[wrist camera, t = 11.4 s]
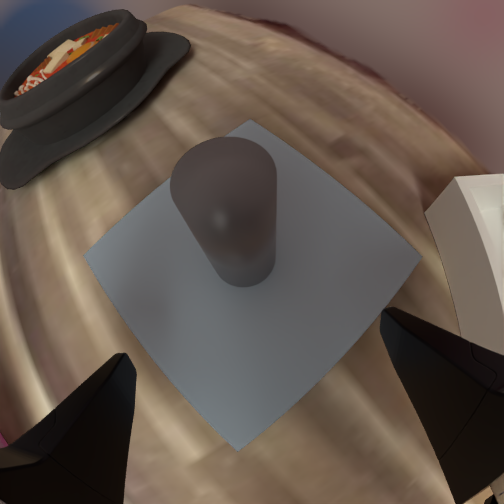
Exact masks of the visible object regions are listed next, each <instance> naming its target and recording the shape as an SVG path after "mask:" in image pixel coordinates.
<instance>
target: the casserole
mask: <svg viewBox="0 0 504 504" xmlns="http://www.w3.org/2000/svg"><path fill="white" fill-rule="evenodd" d="M146 31H147V24H146V23H145V22H143V21H141V20H138V19H136V18H135V17H134V16H133V15H132V14H131V13H130V12H129V11H128V10H124V9H121V10H112V11H108V12H104V13H101V14H98V15H95V16H92V17H90V18H87V19H85V20H83V21H80V22H78V23H76V24H74V25H73V26H70V27H69V28H67V29H65V30H63V31H62V32H60V33H59V34H57V35H55V36H54V37H53V38H51V39H50V40H48V41H47V42H46V43H44V44H43V45H42V46H40V47H39V48H38V49H37V50H35V51H34V52H33V53H32V54H31V55H30V56H29V57H28V58H27V59H25V61H24V62H23V63H22V64H21V65H20V66H19V67H18V68H17V69H16V70H15V71H14V73H13V74H12V75H11V76H10V77H9V79H8V80H7V82H6V83H5V84H4V86H3V88H2V90H1V91H0V113H1V115H0V124H1V126H2V127H3V128H5V129H8V130H11V129H14V130H13V131H12V132H11V134H10V135H9V136H8V138H7V139H6V141H5V142H4V144H3V146H2V149H1V152H0V182H1V184H2V185H3V186H4V187H5V188H7V189H12V190H14V189H17V188H20V187H22V186H24V185H25V184H26V183H28V182H29V181H30V180H31V179H32V178H34V177H35V176H36V175H37V174H39V173H40V172H41V171H43V170H44V169H45V168H47V167H48V166H49V165H51V164H52V163H54V162H56V161H58V160H59V159H61V158H63V157H65V156H67V155H69V154H70V153H72V152H74V151H76V150H78V149H80V148H82V147H84V146H85V145H87V144H88V143H90V142H91V141H93V140H95V139H96V138H98V137H99V136H101V135H102V134H104V133H105V132H106V131H108V130H109V129H110V128H112V127H113V126H114V125H116V124H117V123H119V122H120V121H121V120H122V119H123V118H125V117H126V116H127V115H128V114H129V113H130V112H131V111H133V110H134V109H135V108H136V107H137V106H138V105H139V104H140V103H141V102H142V101H143V100H144V99H145V98H146V97H147V96H148V95H149V94H150V93H151V92H152V90H153V89H154V88H155V86H156V85H157V84H158V82H159V81H160V80H161V78H162V77H163V76H164V74H165V73H166V72H167V71H168V70H169V69H170V68H171V67H172V66H173V65H174V64H175V63H177V62H178V61H179V60H180V59H181V58H182V57H183V56H184V55H185V54H187V53H188V52H189V49H190V47H191V45H190V42H189V40H187V39H186V38H185V37H183V36H181V35H178V34H175V33H169V32H149V33H146Z"/></svg>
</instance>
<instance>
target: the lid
mask: <svg viewBox="0 0 504 504" xmlns="http://www.w3.org/2000/svg"><path fill="white" fill-rule="evenodd" d="M83 256H84V258H85V259H86V261H87V263H88V265H89V266H90V268H91V270H92V271H93V273H94V275H95V276H96V278H97V280H98V281H99V283H100V285H101V286H102V288H103V289H104V291H105V293H106V294H107V296H108V297H109V299H110V300H111V302H112V303H113V305H114V306H115V308H116V309H117V311H118V312H119V314H120V315H121V317H122V318H123V320H124V321H125V323H126V324H127V325H128V327H129V328H130V330H131V331H132V332H133V334H134V335H135V337H136V338H137V339H138V341H139V342H140V343H141V345H142V346H143V347H144V349H145V350H146V351H147V353H148V354H149V355H150V356H151V358H152V359H153V360H154V362H155V363H156V364H157V365H158V367H159V368H160V369H161V370H162V372H163V373H164V374H165V375H166V376H167V378H168V379H169V380H170V381H171V382H172V384H173V385H174V386H175V387H176V388H177V389H178V391H179V392H180V393H181V394H182V395H183V396H184V397H185V399H186V400H187V401H188V402H189V403H190V404H191V405H192V406H193V407H194V408H195V410H196V411H197V412H198V413H199V414H200V415H201V416H202V417H203V418H204V419H205V420H206V421H207V422H208V423H209V424H210V425H211V426H212V427H213V428H214V429H215V430H216V431H217V432H218V433H219V434H220V435H221V436H222V437H223V438H224V439H225V440H226V441H227V442H228V443H229V444H230V445H231V446H232V447H233V448H234V449H235V450H236V451H237V452H238V451H239V450H241V449H242V448H243V447H245V446H246V445H247V444H248V443H250V442H251V441H252V440H254V439H255V438H256V437H257V436H258V435H260V434H261V433H262V432H263V431H265V430H266V429H267V428H268V427H269V426H271V425H272V424H273V423H274V422H275V421H276V420H278V419H279V418H280V417H281V416H282V415H283V414H284V413H286V412H287V411H288V410H289V409H290V408H291V407H292V406H293V405H294V404H295V403H297V402H298V401H299V400H300V399H301V398H302V397H303V396H304V395H305V394H306V393H307V392H308V391H309V390H310V389H311V388H312V387H313V386H314V385H315V384H316V383H317V382H319V381H320V380H321V379H322V378H323V377H324V375H325V374H326V373H327V372H328V371H329V370H330V369H331V368H332V367H333V366H334V365H335V364H336V363H337V362H338V361H339V360H340V359H341V358H342V357H343V356H344V355H345V353H346V352H347V351H348V350H349V349H350V348H351V347H352V346H353V345H354V344H355V342H356V341H357V340H358V339H359V338H360V337H361V336H362V334H363V333H364V332H365V331H366V330H367V329H368V327H369V326H370V325H371V324H372V323H373V322H374V320H375V319H376V318H377V317H378V315H379V314H380V313H381V312H382V310H383V309H384V308H385V307H386V306H387V304H388V303H389V302H390V300H391V299H392V298H393V297H394V295H395V294H396V293H397V291H398V290H399V289H400V287H401V286H402V285H403V283H404V282H405V281H406V279H407V278H408V277H409V275H410V274H411V272H412V271H413V270H414V268H415V267H416V265H417V264H418V263H419V261H420V260H421V258H422V256H421V255H420V254H419V253H418V252H417V251H416V250H415V249H414V248H413V247H412V246H411V245H410V244H409V243H408V242H407V241H406V240H405V239H404V238H403V237H402V236H401V235H399V234H398V233H397V232H396V231H395V230H394V229H393V228H392V227H391V226H390V225H389V224H387V223H386V222H385V221H384V220H383V219H382V218H381V217H380V216H378V215H377V214H376V213H375V212H374V211H373V210H371V209H370V208H369V207H368V206H367V205H366V204H364V203H363V202H362V201H361V200H360V199H359V198H357V197H356V196H355V195H354V194H352V193H351V192H350V191H349V190H348V189H346V188H345V187H344V186H343V185H341V184H340V183H339V182H338V181H336V180H335V179H334V178H333V177H331V176H330V175H329V174H327V173H326V172H325V171H324V170H322V169H321V168H320V167H318V166H317V165H316V164H314V163H313V162H312V161H310V160H309V159H308V158H306V157H305V156H303V155H302V154H301V153H299V152H298V151H297V150H295V149H294V148H292V147H291V146H290V145H288V144H287V143H285V142H284V141H282V140H281V139H280V138H278V137H277V136H275V135H274V134H272V133H271V132H269V131H268V130H266V129H265V128H263V127H262V126H260V125H259V124H257V123H256V122H254V121H253V120H251V119H249V120H248V121H246V122H245V123H243V124H242V125H240V126H239V127H237V128H236V129H234V130H233V131H231V132H230V133H229V134H227V135H226V136H224V137H218V138H213V139H210V140H207V141H204V142H202V143H200V144H198V145H196V146H195V147H193V148H192V149H190V150H189V151H188V152H186V153H185V154H184V155H183V156H182V157H181V159H180V160H179V161H178V163H177V164H176V166H175V168H174V170H173V172H172V175H171V177H170V178H169V179H167V180H166V181H165V182H164V183H162V184H161V185H160V186H159V187H158V188H156V189H155V190H154V191H153V192H152V193H150V194H149V195H148V196H147V197H146V198H145V199H143V200H142V201H141V202H140V203H139V204H138V205H137V206H135V207H134V208H133V209H132V210H131V211H130V212H129V213H127V214H126V215H125V216H124V217H123V218H122V219H121V220H120V221H119V222H118V223H116V224H115V225H114V226H113V227H112V228H111V229H110V230H109V231H108V232H107V233H106V234H105V235H104V236H103V237H102V238H101V239H100V240H99V241H97V242H96V243H95V244H94V245H93V246H92V247H91V248H90V249H89V250H88V251H87V252H86V253H85V254H84V255H83Z"/></svg>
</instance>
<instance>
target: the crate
mask: <svg viewBox="0 0 504 504" xmlns="http://www.w3.org/2000/svg"><path fill="white" fill-rule="evenodd" d="M424 214H425V216H426V219H427V221H428V224H429V226H430V229H431V232H432V234H433V237H434V240H435V243H436V245H437V248H438V251H439V254H440V257H441V260H442V263H443V267H444V270H445V273H446V276H447V280H448V283H449V287H450V290H451V294H452V298H453V302H454V306H455V310H456V314H457V319H458V323H459V328H460V333H461V337H462V338H464V339H466V340H468V341H469V342H473V343H475V344H477V345H479V346H482V347H484V348H486V349H489V350H491V351H494V352H496V353H499V354H502V355H504V174H489V175H473V176H459V177H454V178H453V179H452V181H451V182H450V183H449V184H448V186H447V187H446V188H445V189H444V190H443V192H442V193H441V194H440V195H439V196H438V197H437V199H436V200H435V201H434V202H433V203H432V204H431V206H430V207H429V208H428V209H427V210H426V211H425V212H424Z"/></svg>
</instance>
